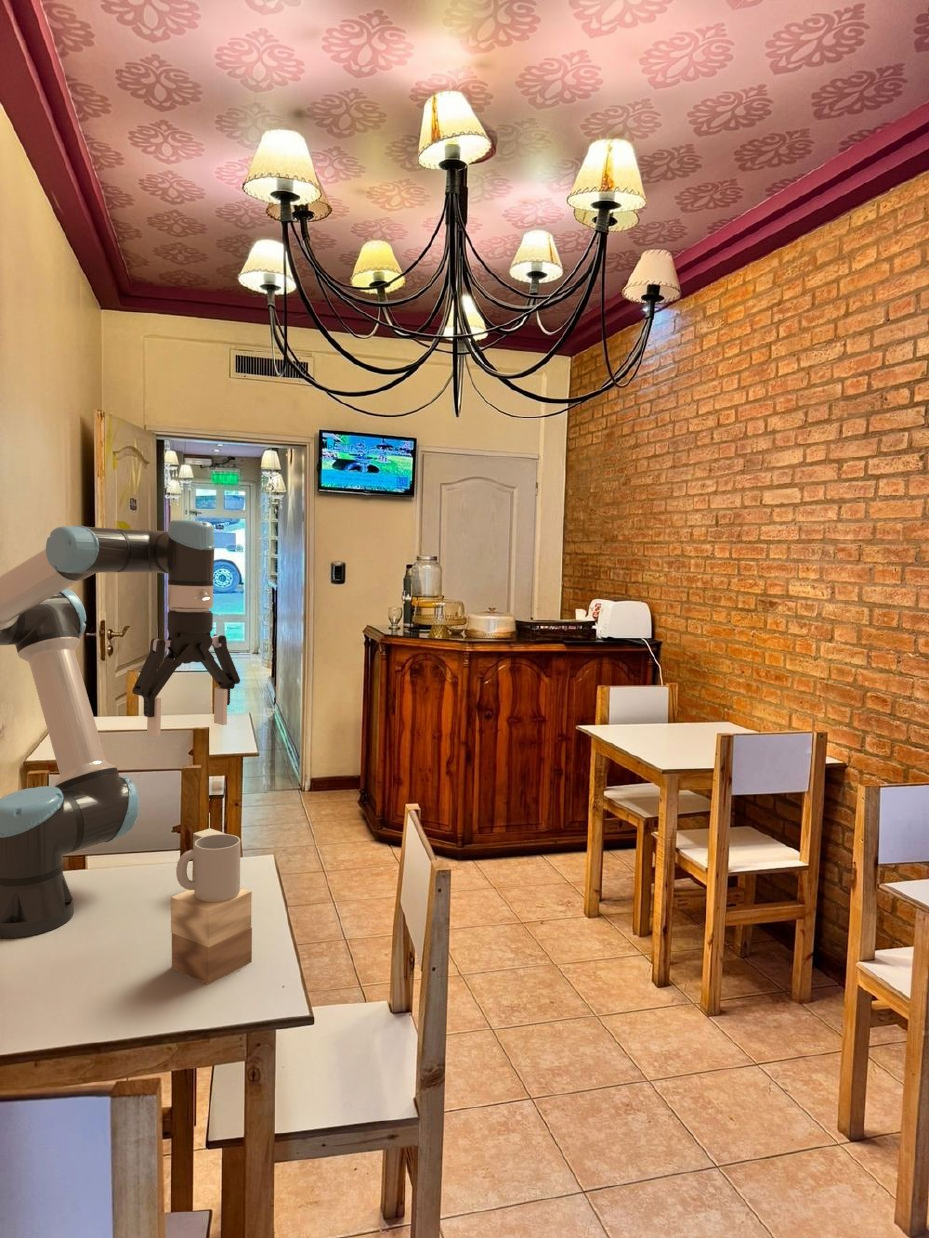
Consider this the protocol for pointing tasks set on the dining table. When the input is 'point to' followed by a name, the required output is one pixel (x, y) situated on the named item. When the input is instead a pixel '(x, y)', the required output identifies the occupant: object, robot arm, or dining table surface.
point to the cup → (212, 868)
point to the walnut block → (212, 956)
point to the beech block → (209, 917)
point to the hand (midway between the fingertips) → (188, 729)
